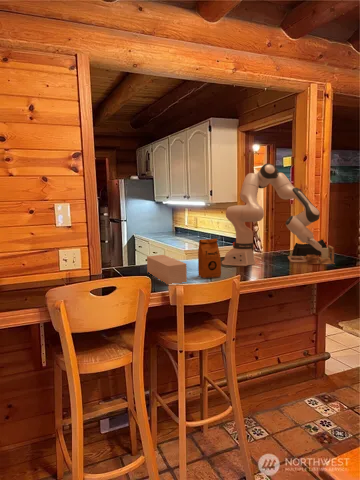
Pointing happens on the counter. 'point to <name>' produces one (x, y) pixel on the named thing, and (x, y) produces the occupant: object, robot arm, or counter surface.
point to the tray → (297, 260)
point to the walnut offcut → (311, 260)
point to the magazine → (307, 249)
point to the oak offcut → (311, 256)
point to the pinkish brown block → (167, 269)
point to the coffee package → (209, 259)
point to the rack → (326, 260)
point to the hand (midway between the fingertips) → (321, 251)
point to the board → (325, 253)
